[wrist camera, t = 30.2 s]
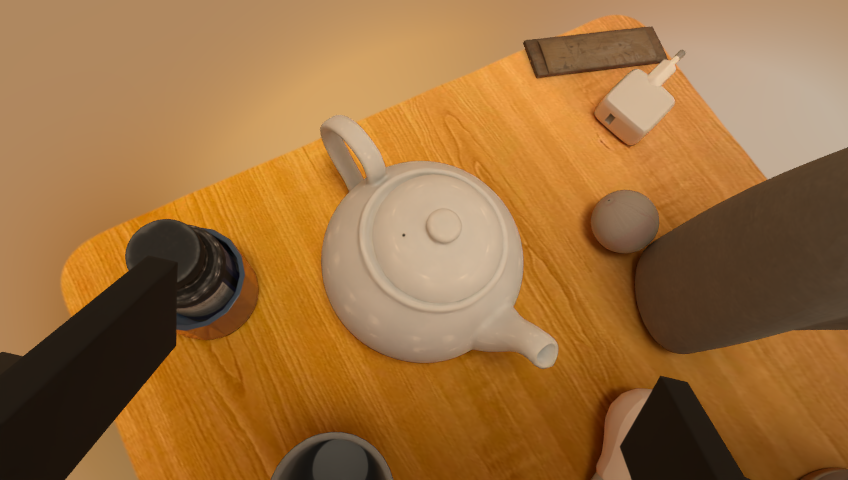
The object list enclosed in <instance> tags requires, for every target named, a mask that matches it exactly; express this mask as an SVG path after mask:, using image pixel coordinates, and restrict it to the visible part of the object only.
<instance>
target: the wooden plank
mask: <svg viewBox="0 0 848 480" xmlns="http://www.w3.org/2000/svg"><path fill="white" fill-rule="evenodd" d="M523 44H524V47H525V49H526V52H527V54H528V57H529V59H530V60H531V64H532V67H533V70H534V73H535V75H536V77H537V78H540V77H547V76H555V75H562V74H570V73H579V72H588V71H597V70H605V69H613V68H622V67H629V66H638V65H646V64H654V63H661V62H662V61H663V60H668V59H667V57H666V54H665V52H664V49H663V47H662V45H661V43H660V41H659V39H658V37H657V35H656V33H655V31H654V29H653V27H642V28H634V29H623V30H615V31H605V32H597V33H589V34H579V35H571V36H562V37H551V38H543V39H533V40H526V41H524V43H523Z"/></svg>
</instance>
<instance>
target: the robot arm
mask: <svg viewBox="0 0 848 480" xmlns="http://www.w3.org/2000/svg"><path fill="white" fill-rule="evenodd" d="M177 273H178V262H175V261H171V260H166V259H162V258H158V257H154V256H149V255H148V256H147V257H145V258H144V259H143V260H142V261H140V262H139V263H138V264H137V265H136V266H134V267H133V268H132V269H131V270H129V271H128V272H127V273H126V274H124V275H123V276H122V277H121V278H119V279H118V280H117V281H116V282H114V283H113V284H112V285H111V286H110V287H108V288H107V289H106V290H105V291H103V292H102V293H101V294H100V295H98V296H97V297H96V298H95V299H93V300H92V301H91V302H90V303H89V304H87V305H86V306H85V307H84V308H82V309H81V310H80V311H79V312H77V313H76V314H75V315H74V316H72V317H71V318H70V319H69V320H68V321H66V322H65V323H64V324H63V325H62V326H60V327H59V328H58V329H57V330H55V331H54V332H53V333H51V334H50V335H49V336H48V337H46V338H45V339H44V340H43V341H42V342H40V343H39V344H38V345H37V346H35V347H34V348H33V349H32V350H30V351H29V352H28V353H27V354H26V355H24V356H19V355H14V354H10V353H6V352H1V353H0V480H65V479H66V478H67V476H68V475H69V474H70V473H71V472H72V471H73V469H74V468H75V467H76V465H78V463H79V462H80V461H81V460H82V458H83V457H84V456H85V455H86V454H87V452H88V451H89V450H90V449H91V448H92V446H93V445H94V444H95V443H96V442H97V440H98V439H99V438H100V437H101V436H102V434H103V433H104V432H105V431H106V429H107V428H108V427H109V426H110V425H111V423H112V422H113V421H114V420H115V419H116V417H117V416H118V415H119V414H120V413H121V411H122V410H123V409H124V408H125V407H126V405H127V404H128V403H129V402H130V401H131V399H132V398H133V397H134V396H135V394H136V393H137V392H138V391H139V390H140V388H141V387H142V386H143V385H144V384H145V382H146V381H147V380H148V379H149V378H150V376H151V375H152V374H153V373H154V372H155V370H156V369H157V368H158V367H159V365H160V364H161V363H162V362H163V361H164V359H165V358H166V357H167V356H168V355H169V353H170V352H171V351H172V350H173V349H174V347H175V346H176V324H177ZM620 449H621V452H622V455H623V457H624V460H625V463H626V466H627V468H628V471H629V474H630V477H631V479H632V480H746V478H745V477H744V475H743V473H742V472H741V470H740V468H739V467H738V465H737V463H736V462H735V460H734V458H733V457H732V455H731V453H730V452H729V450H728V448H727V447H726V445H725V444H724V442H723V440H722V439H721V437H720V435H719V434H718V432H717V430H716V429H715V427H714V425H713V424H712V422H711V420H710V419H709V417H708V415H707V414H706V412H705V410H704V409H703V407H702V405H701V404H700V402H699V400H698V399H697V397H696V395H695V394H694V392H693V391H692V389H691V387H690V386H689V384H688V382H685V381H680V380H676V379H672V378H668V377H663V376H660V378H659V379H658V381H657V383H656V385H655V386H654V388H653V390H652V392H651V393H650V395H649V397H648V398H647V400H646V402H645V404H644V405H643V407H642V409H641V410H640V412H639V414H638V416H637V417H636V419H635V421H634V423H633V424H632V426H631V428H630V429H629V431H628V433H627V435H626V436H625V438H624V440H623V442H622V443H621V445H620ZM800 480H848V469H841V468H826V469H821V470H817V471H814V472H812V473H810V474H807V475H806V476H804V477H803V478H801V479H800Z"/></svg>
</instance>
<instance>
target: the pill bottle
mask: <svg viewBox="0 0 848 480" xmlns="http://www.w3.org/2000/svg"><path fill="white" fill-rule="evenodd" d="M148 255H149V256H154V257H158V258H162V259H166V260H171V261H175V262H178V273H177V313H178V314H180V315H182V316H185V317H187V318H189V319H191V320H194V321H200V322H202V321H206V320H208V319H209V318H211V317H212V316H214V315H215V314H217V313H218V312H220V311H221V310H223V309H224V308H225V306H226V305H227V304H228V302H229V301H230V299H231V298H232V297H233V295H234V294H235V292H236V288H237V284H238V280H239V276H240V274H239V268H238V264H237V262H236V261H235V260H234V259H233V258H232V257H231V256H230V254H229V253H228V252H227V251H226V250H225V249H224V248H223V246H222V245H221V244H220V243H219V242H218V240H217V239H216V238H215V237H213V235H212V234H210V233H209V232H207V231H206V230H204V229H202V228H199V227H197V226H192V225H187V224H185V223H183V222H180V221H177V220H171V219H163V220H157V221H153V222H151V223H149V224H146V225H145V226H143V227H142V228H140V229H139V230H138V231H137V232H136V233H135V234H134V235H133V236H132V238H131V239H130V241H129V243H128V245H127V248H126V254H125V259H126V264H127V268H128V269H129V270H131V269H132V268H133V267H134V266H136V265H137V264H138V263H139V262H140V261H142V260H143V259H144V258H145V257H147V256H148Z"/></svg>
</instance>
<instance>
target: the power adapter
mask: <svg viewBox="0 0 848 480" xmlns="http://www.w3.org/2000/svg"><path fill="white" fill-rule="evenodd" d="M684 55H685V51H684V50H680V51H679V52H678V53H677V54H676V55H675V56H674V57H673V58H672V59H671V60H663V61H662V62H661V63H660V64H659V65H658V66H657V67H656V68H655V69H654V70H652V71H651V72H650V73H649V74H648V75H647V74H646V73H645V72H643V71H642V70H639V69H634V70H632V71H631V72H629V73H628V74H627V75H626V76H625V77H624V78H623V79H622V80H621V81H620V82H619V83H618V84H617V85H616V86H615V87H614V88H613V89H612V90H611V91H610V92H609V93H608V94H607V95H606V96H605V97H604V98H603V99H602V101H601V102H600V103H599V105H598V106H597V108H596V110H595V112H594V114H595V116H596V118H597V119H598V120H599V121H600V122H601V123H602V124H603V125H604V126H605V127H607V128H608V129H609V130H610V131H611V132H612V133H613V134H615V135H616V136H617V137H618V138H619V139H620V140H622V141H623V142H624V143H626V144H628V145H630V146H632V145H634V144H636V143H638V142H639V141H640V140H641V139H642V138H643V137H644V136H645V135H646V134H647V133H649V132H650V131H651V130H652V129H653V128H654V127H655V126H656V125H657V124H658V122H659V121H660V120H661V119H662V118H663V117H664V116H665V115H666V114H667V113H668V112H669V111H670V110H671V109H672V108H673V106H674V104H675V100H674V98H673V96H672V95H671V94H670V93H669V92H668V91H666V90H665V89H664V88H663V87H662V85H663V84H664V83H665V82H666V81H667V80H668V79H669V78H670V77H671V75H672V74H673V73H674V72H675V71H676V67H675V64H676V63H677V62H678V61H679V60H680V59H681V58H682V57H683V56H684Z"/></svg>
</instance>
